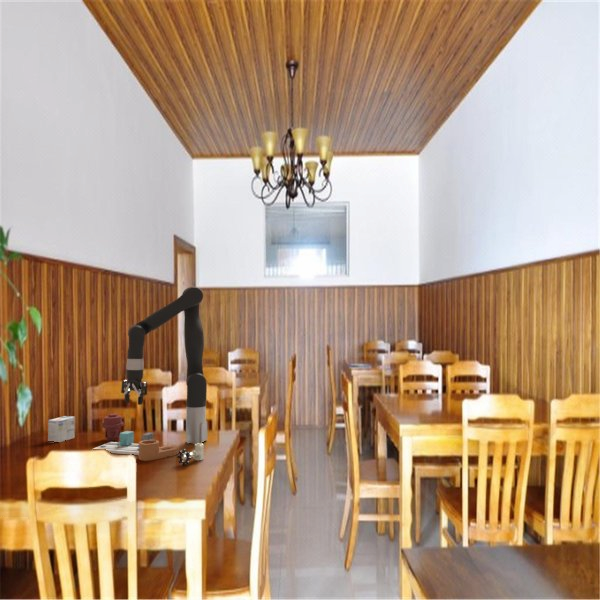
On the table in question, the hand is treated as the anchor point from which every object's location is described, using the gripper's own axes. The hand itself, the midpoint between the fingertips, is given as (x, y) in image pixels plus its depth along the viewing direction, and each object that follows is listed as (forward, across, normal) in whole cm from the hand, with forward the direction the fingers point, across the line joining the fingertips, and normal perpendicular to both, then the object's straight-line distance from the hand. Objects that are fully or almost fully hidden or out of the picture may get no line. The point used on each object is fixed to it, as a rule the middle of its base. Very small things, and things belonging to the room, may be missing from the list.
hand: (133, 403), depth 226 cm
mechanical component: (+21, +22, -7) cm, 31 cm away
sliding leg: (+19, +2, +2) cm, 19 cm away
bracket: (+21, -20, +2) cm, 29 cm away
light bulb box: (+21, +43, +6) cm, 48 cm away
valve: (+20, -39, +3) cm, 44 cm away
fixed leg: (+19, -8, 0) cm, 21 cm away
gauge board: (+20, +1, +3) cm, 21 cm away
